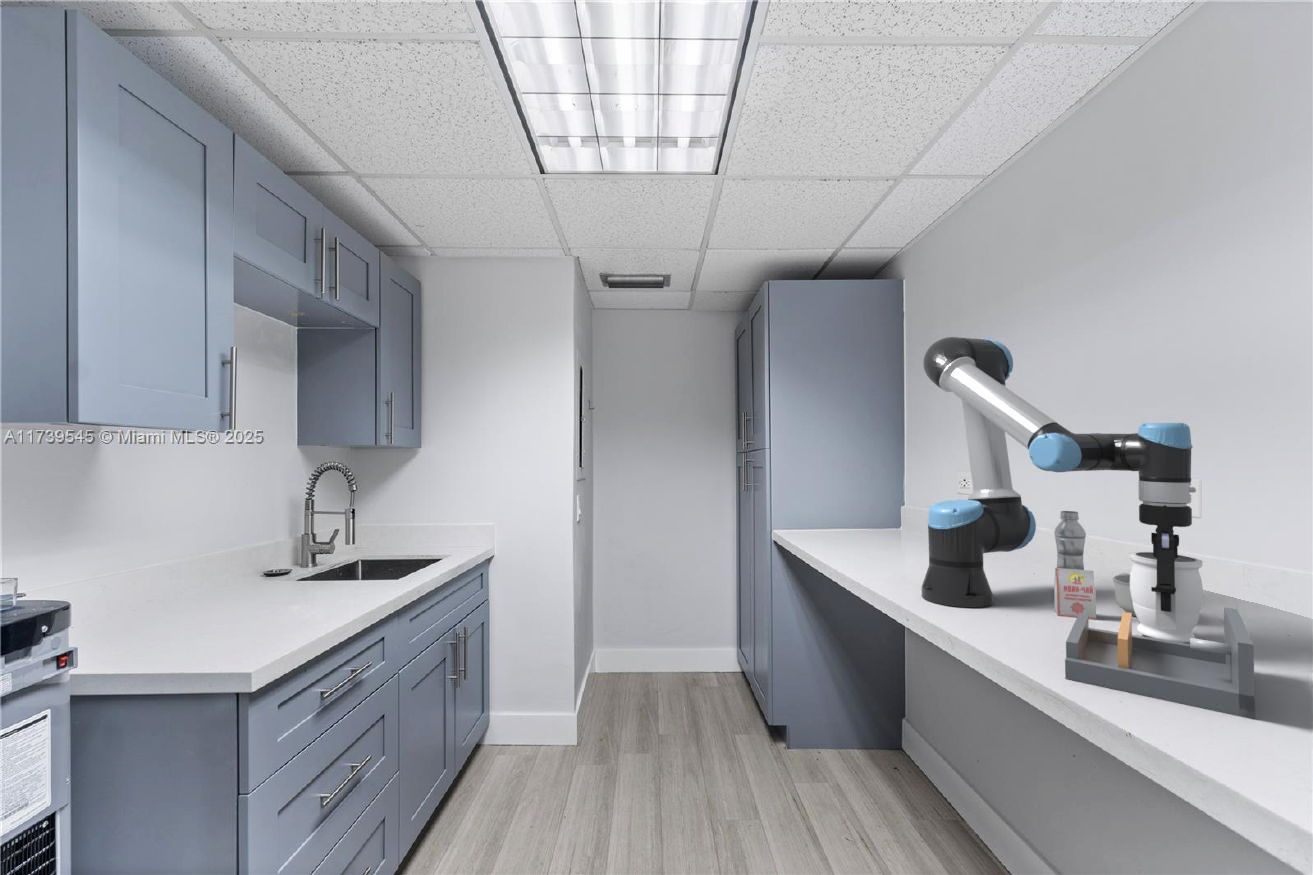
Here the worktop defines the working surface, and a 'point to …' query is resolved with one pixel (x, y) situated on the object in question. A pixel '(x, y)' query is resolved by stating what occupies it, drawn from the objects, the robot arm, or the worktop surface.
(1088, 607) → the white red carton
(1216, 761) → the worktop surface
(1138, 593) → the jar
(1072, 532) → the plastic bottle
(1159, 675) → the tray
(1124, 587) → the teacup
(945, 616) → the worktop surface
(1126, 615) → the plate
